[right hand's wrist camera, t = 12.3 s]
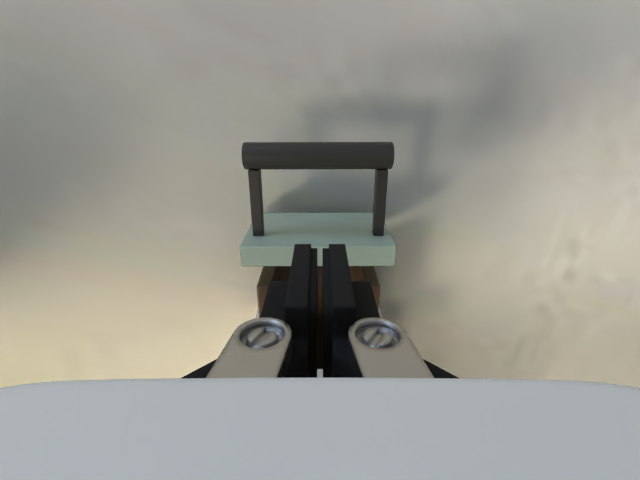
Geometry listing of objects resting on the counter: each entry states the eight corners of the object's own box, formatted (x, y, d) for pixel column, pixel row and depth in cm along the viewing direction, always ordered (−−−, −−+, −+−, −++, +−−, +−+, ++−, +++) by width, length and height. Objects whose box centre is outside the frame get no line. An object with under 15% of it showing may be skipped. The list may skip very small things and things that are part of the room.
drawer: (252, 134, 23) (230, 146, 18) (384, 134, 23) (404, 146, 18) (267, 359, 30) (255, 421, 24) (370, 359, 30) (382, 421, 24)
